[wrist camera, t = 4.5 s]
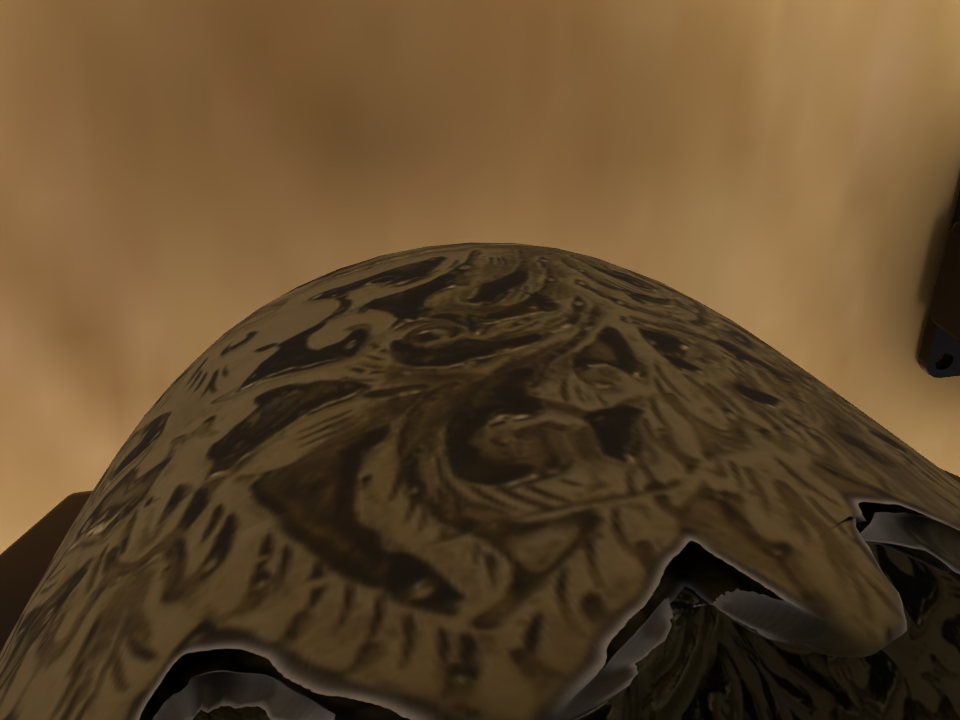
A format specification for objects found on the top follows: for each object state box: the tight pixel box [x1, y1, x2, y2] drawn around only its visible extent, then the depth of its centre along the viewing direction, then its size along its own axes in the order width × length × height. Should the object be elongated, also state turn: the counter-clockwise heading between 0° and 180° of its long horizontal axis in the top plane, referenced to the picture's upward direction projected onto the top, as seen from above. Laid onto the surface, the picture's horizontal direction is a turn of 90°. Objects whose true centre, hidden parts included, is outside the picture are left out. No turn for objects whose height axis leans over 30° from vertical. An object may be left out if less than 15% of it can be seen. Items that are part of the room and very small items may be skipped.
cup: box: [0, 243, 960, 720], centre depth 8 cm, size 8×7×8 cm
